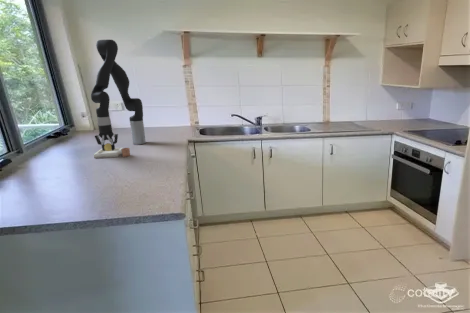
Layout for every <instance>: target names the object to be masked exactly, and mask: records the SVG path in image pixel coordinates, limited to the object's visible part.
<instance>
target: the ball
mask: <svg viewBox="0 0 470 313" xmlns="http://www.w3.org/2000/svg"><path fill="white" fill-rule="evenodd" d="M111 145H112V144H111V142H110V143H109V142H108V143H107V142H106V143H104V149H105V150H106V151H111V150H112V146H111Z"/></svg>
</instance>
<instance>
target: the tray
mask: <svg viewBox="0 0 470 313" xmlns="http://www.w3.org/2000/svg"><path fill="white" fill-rule="evenodd" d="M123 148H124V147H115V149H114V150H111V151H106V150H105V151H103V150H102V148H100V149H99V150H98V151H96V152H95V153H94V154H93V158H94V159H103V158H118V157H119V156H120V155H122V151H121V149H123Z"/></svg>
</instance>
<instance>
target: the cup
mask: <svg viewBox="0 0 470 313" xmlns="http://www.w3.org/2000/svg"><path fill="white" fill-rule="evenodd" d="M122 148H123V149H121V151H122V153H121V155H122V157H123V158H127V157H130V156H131V148H129V147H122Z"/></svg>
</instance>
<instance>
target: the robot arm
mask: <svg viewBox="0 0 470 313" xmlns="http://www.w3.org/2000/svg"><path fill="white" fill-rule="evenodd" d="M95 44H96V45H95V46H96V51H97V53H98V54H99V56H100V57H101V59H102V60H103V63H102V65H101V66H100V67H99V70H98V71H97V75H96V80H95V84H94V86H93V89H92V91H91V93H90V94H91V95H90V98H91V101H92V102H93V103H94V104H99V106H98V107H96V109H95V111H96V118H97V120H96V121H97V127H98V134H96V135H94V138H95V140H96V143H97V144H98V145H100V146H101V149H102V150H103V151H105V149H104V145H105V144H106V141H109V142H110V144H111V146H112V150H114V149H115V148H116V146H115V144H117V143H118V138H119V134H118V133H114V132H113V126H112V123H111V122H112V121H111V118H110V112H109V109H110V108H109V107H110V96H109V94H108V92H106V91H105V90H106V89H108V88H109V85H110V79H111V78H110V77H112V80H113V82H114V84H115V86H116V88H117V90H118V93H119V95H120V97H121V99H122V102H123V105H124V108H125V109H126V111H128V112H134V114H133V115H131V116H129V123H130V124H129V125H130V131H131V141H132V144H133V145H135V146H136V145H144V144H146V143H147V141H146V133H145V124H144V110H143V102H142V100H141V99H140V97H139V98H138V97H134V98H133V97H131V96H130V94H129V87H130V79H129V77H128V75H127V72H126V71H125V70H124V69H123V67H122V66H120V65H119V64H118V63H117V62H116V57H117V55H118V50H119V47H118V44H117V42H116V41H115V40H113V39H98V40H97V41H96V43H95ZM113 137H114V138H113ZM100 139H101V140H100Z"/></svg>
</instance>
